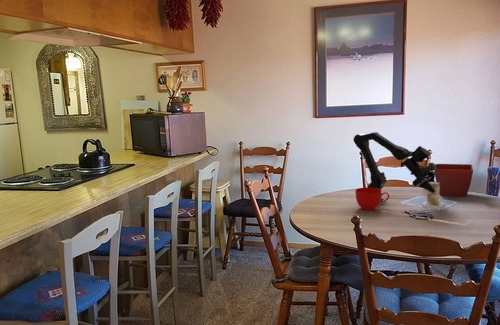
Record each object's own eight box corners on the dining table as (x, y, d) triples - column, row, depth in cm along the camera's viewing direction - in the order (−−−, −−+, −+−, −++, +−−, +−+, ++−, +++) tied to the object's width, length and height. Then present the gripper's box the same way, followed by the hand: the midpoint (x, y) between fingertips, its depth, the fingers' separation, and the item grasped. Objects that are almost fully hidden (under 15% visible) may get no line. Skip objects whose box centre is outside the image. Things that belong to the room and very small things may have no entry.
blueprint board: (438, 212, 193) (438, 210, 192) (398, 204, 210) (398, 202, 210) (459, 204, 206) (459, 202, 205) (420, 197, 223) (420, 195, 223)
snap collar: (421, 206, 201) (422, 204, 200) (427, 203, 206) (427, 200, 206) (438, 209, 195) (438, 206, 195) (444, 205, 201) (444, 202, 201)
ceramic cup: (391, 212, 197) (391, 193, 195) (356, 212, 200) (356, 193, 198) (387, 205, 209) (387, 187, 208) (354, 205, 213) (354, 187, 211)
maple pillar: (426, 206, 201) (427, 183, 199) (429, 204, 204) (430, 181, 202) (436, 207, 198) (436, 184, 196) (439, 205, 201) (439, 182, 199)
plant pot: (433, 197, 221) (434, 168, 219) (435, 190, 238) (435, 163, 235) (472, 200, 212) (473, 170, 210) (471, 192, 229) (472, 164, 227)
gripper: (419, 160, 193) (442, 184, 187) (432, 155, 206) (454, 178, 200) (403, 174, 200) (424, 198, 194) (417, 169, 213) (437, 191, 207)
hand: (436, 191), depth 199 cm, fingers open, 5 cm apart
